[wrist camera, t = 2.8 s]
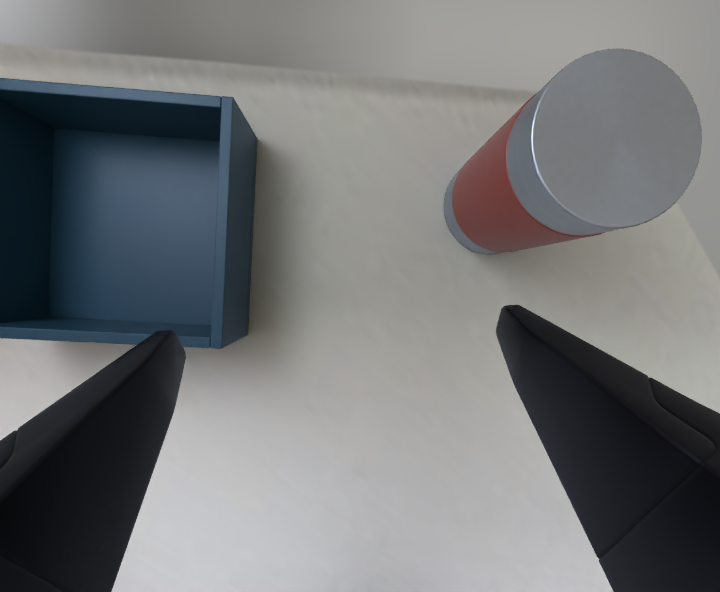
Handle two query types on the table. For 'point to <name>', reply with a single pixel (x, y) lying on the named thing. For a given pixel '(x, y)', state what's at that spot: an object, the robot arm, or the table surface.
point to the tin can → (580, 157)
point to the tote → (124, 214)
